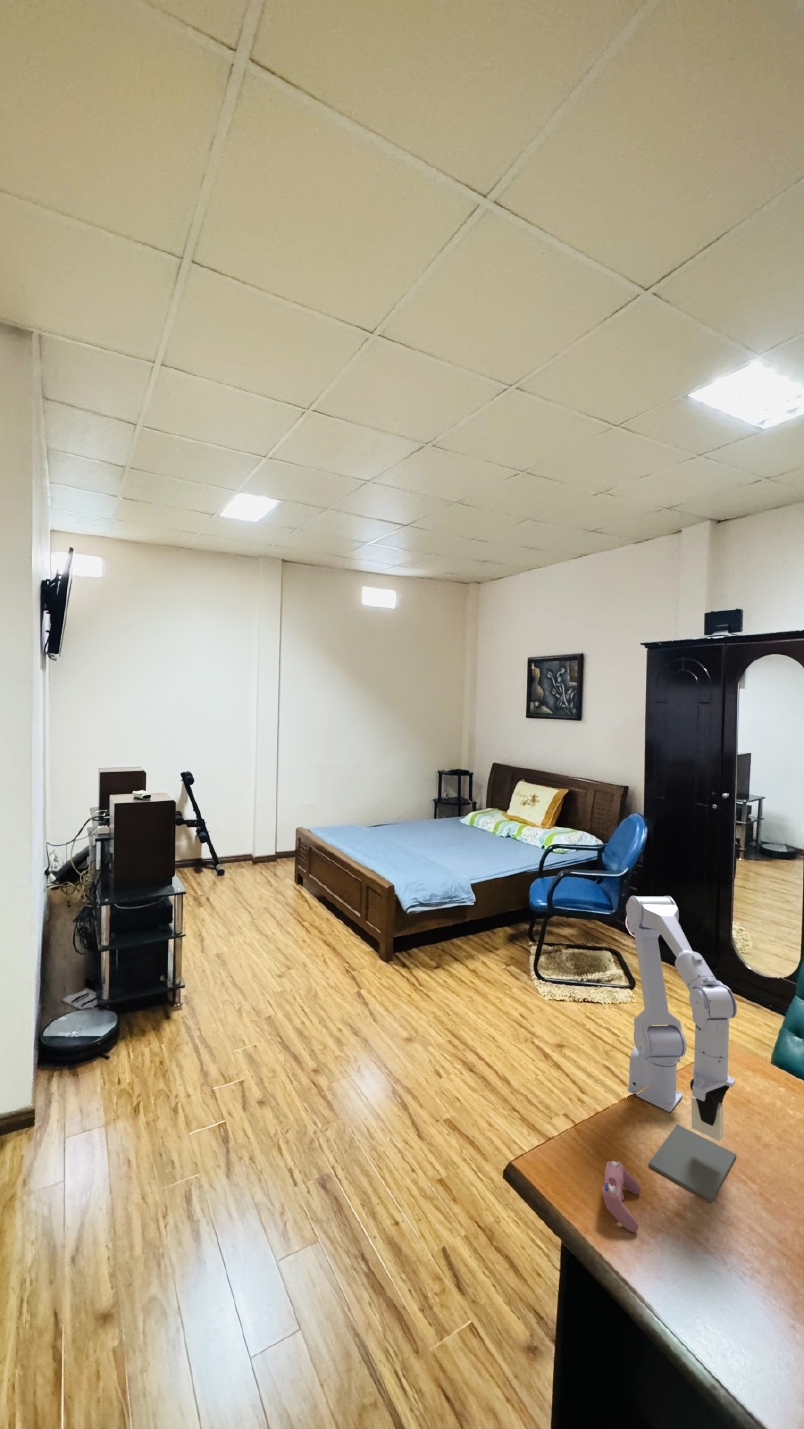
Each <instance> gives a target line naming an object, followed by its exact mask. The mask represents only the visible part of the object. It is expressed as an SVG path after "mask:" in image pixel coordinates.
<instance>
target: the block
mask: <svg viewBox="0 0 804 1429" xmlns="http://www.w3.org/2000/svg"><path fill="white" fill-rule="evenodd" d="M690 1105H691V1129H692V1130H695V1131H697V1132H699V1133H701V1134H703V1135H705V1136H707V1137H710V1138H711V1139H713V1140H716V1141H718V1142H721V1140H723V1137H724V1104H723V1103H722V1104H721V1103H719V1105H718V1109H717V1114H716V1119H715V1122H714V1125H713V1126H711V1125H709V1124H707V1123H705V1122H703V1121H701V1117H700V1113H699V1109H698V1104H697V1101H696V1098H695V1097H693V1096H691V1104H690Z"/></svg>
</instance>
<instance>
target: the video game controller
mask: <svg viewBox="0 0 804 1429" xmlns="http://www.w3.org/2000/svg"><path fill="white" fill-rule="evenodd" d="M604 1170H605V1171H604V1185H603V1186H602V1198H603V1201H604V1205H605V1206H606V1209H607V1211H608V1212H610V1214H612V1215H613V1216H614V1218H615V1220H616V1221H617V1222H618V1223H619V1224H620V1225H621V1226H622V1227H623V1228H625V1229H626V1230H627V1231H629V1232H631V1233H634V1234H635V1233H637V1232H638V1231H639V1224H638V1222H637V1219H636V1218H635V1217H634V1216H633V1214H632V1213H631V1212H630V1211H629V1210H628V1208H627V1207H626V1205H625V1204H624V1202H623V1201H624V1198H625V1195H624V1190H623V1187H624V1188H625V1189H626V1190H627V1191H629V1192H630V1193H631V1194H634V1195H639V1194H640V1193H641V1191H642V1190H641V1186H640V1184H639V1182H638V1180H636V1178H635V1177H634V1176H633V1175H632V1174H630V1172H629V1171H628V1170H627V1169H626V1167H625V1166H624V1165H623V1163H621V1162H619V1161H615V1160H610V1161H606V1166H605V1169H604Z"/></svg>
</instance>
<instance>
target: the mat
mask: <svg viewBox="0 0 804 1429" xmlns="http://www.w3.org/2000/svg"><path fill="white" fill-rule="evenodd" d="M736 1158H737V1153H734V1152H733V1151H731V1150H729V1149H727V1148H724V1147H723V1146H721V1145H719V1144H717V1143H715V1142H713V1141H711V1140H709V1139H708V1138H705V1137H703V1136H702V1135H699V1134H697V1133H695V1132H694V1131H691V1130H690V1129H688V1128H686V1127H684V1126H682V1125H680V1124H678V1123H677V1124H676V1125H675V1126H674V1127H673V1129H672V1131H671V1132H669V1135H668V1136H667V1137H666V1139H665V1140H664V1141H663V1143H662V1144H661V1146H660V1147H659V1149H658V1150H657V1151H655V1154H654V1155H653V1156H652V1158H651V1159H650V1160H649V1161H648V1167H649V1168H651V1169H653V1170H654V1171H656V1172H658V1173H659V1174H661V1175H663V1176H664V1177H666V1178H669V1179H670V1180H671V1181H673V1182H675V1183H676V1184H678V1185H680V1186H682V1187H684V1188H685V1189H687V1190H689V1191H690V1192H692V1193H694V1194H695V1195H697V1196H699V1197H701V1198H703V1199H705V1200H706V1201H708V1202H709V1203H713V1201H714V1199H715V1197H716V1196H717V1194H718V1192H719V1190H720V1189H721V1186H722V1184H723V1182H724V1181H725V1179H726V1177H727V1175H728V1173H729V1172H730V1170H731V1168H732V1166H733V1164H734V1162H735V1160H736Z"/></svg>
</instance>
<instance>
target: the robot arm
mask: <svg viewBox="0 0 804 1429" xmlns="http://www.w3.org/2000/svg"><path fill="white" fill-rule="evenodd" d="M625 910H626V918H627V925H628V929H629V931H630V932H631V933H633V934H634V939H635V946H636V955H637V960H638V961H637V962H638V968H639V969H638V971H639V977H640V983H641V991H642V992H641V993H642V999H643V1005H644V1009H643V1010H642V1011H641V1012H640V1013H639V1014H638V1015H636V1016H635V1018H634V1019H633V1024H634V1027H633V1028H634V1029H633V1030H634V1031H633V1042H634V1047H633V1050H632V1051H631V1054H630V1057H629V1067H628V1068H629V1070H628V1071H629V1072H628V1074H629V1076H628V1087H627V1092H628V1093H630V1094H632V1095H634V1094H636V1093H637V1092H639V1091H640V1090H642V1089H644V1088H645V1087H648V1088H646V1089H644V1090H643V1091H642V1092H640V1093H638V1094H636V1095H637V1096H636V1095H635V1096H636V1097H638V1098H640V1099H642V1100H644V1101H645V1102H648V1103H650V1104H652V1105H654V1106H656V1107H658V1108H660V1109H662V1110H664V1111H665V1112H668V1113H670V1112H672V1110H674V1108H675V1107H676V1106H677V1104H678V1103H679V1102H680V1100H681V1099H682V1098H683V1097H684V1095H683V1093H681V1092H680V1091H678V1090H677V1071H678V1068H677V1067H678V1066H677V1064H678V1063H680V1062H681V1058H683V1057H684V1056H685V1055H686V1053H687V1048H688V1046H687V1040H686V1036H685V1034H684V1032H683V1028H682V1022H681V1021H680V1020H679V1019H678V1018H677V1016H675V1015H673V1014H672V1013H671V1012H669V1007H668V998H667V992H666V985H665V979H664V972H663V965H662V964H663V963H662V958H661V952H660V951H661V950H660V945H659V944H660V943H659V937H660V935H661V937H662V938H663V940H664V941H665V943H666V944H667V946H668V947H669V949H670V950H671V952H672V954H674V956H675V957H676V959H675V961H674V966H675V968H676V970H677V971H678V974H679V975H680V977H681V979H682V981H683V983H684V985H685V987H686V988H687V990H688V992H689V993H690V994H689V995H688V1000H689V1003H690V1007H691V1012H692V1020H693V1023H694V1024H695V1026H694V1028H695V1029H694V1056H693V1057H694V1062H693V1063H694V1064H693V1066H692V1074H693V1077H692V1079H691V1080H690V1082H689V1088H690V1090H691V1092H692V1093H691V1095H692V1096H693V1097H695V1098H696V1101H697V1104H698V1109H699V1113H700V1117H701V1121H703V1122H705V1123H707V1124H709V1125H711V1126H713V1125H714V1122H715V1119H716V1114H717V1109H718V1105H719V1103H721V1104H723V1102H724V1098H725V1096H726V1093H727V1092H728V1090H729V1089H730V1087H731V1088H733V1087H734V1085H735V1082H736V1080H735V1079H734V1078H732V1077H731V1076H729V1044H730V1042H729V1040H730V1039H729V1038H730V1020H729V1019H734V1018H735V1017H736V1016H737V1012H738V1007H737V1006H738V1005H737V1000H736V998H735V995H734V994H733V992H732V989H731V988H729V987H728V985H726V984H723V983H722V981H720V980H717V978H716V977H715V975H714V974H713V972H712V970H711V969H710V967H709V966H708V964H707V963H706V960H705V959H704V957H703V956H702V954H700V953H699V952H697V951H693V949H692V947H691V945H690V943H689V941H688V939H687V936H686V935H685V932H683V929H682V926H681V924H680V923H679V920H680V919H679V918H680V915H679V914H680V913H679V912H680V911H679V908H678V906H677V903H676V902H675V900H674V899H673V898H672V896H670V895H664V896H636V895H631V896H630V897H629V898H628V900H627V903H626V904H625ZM652 1084H653V1085H652ZM651 1085H652V1086H651ZM692 1096H691V1097H692Z"/></svg>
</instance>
